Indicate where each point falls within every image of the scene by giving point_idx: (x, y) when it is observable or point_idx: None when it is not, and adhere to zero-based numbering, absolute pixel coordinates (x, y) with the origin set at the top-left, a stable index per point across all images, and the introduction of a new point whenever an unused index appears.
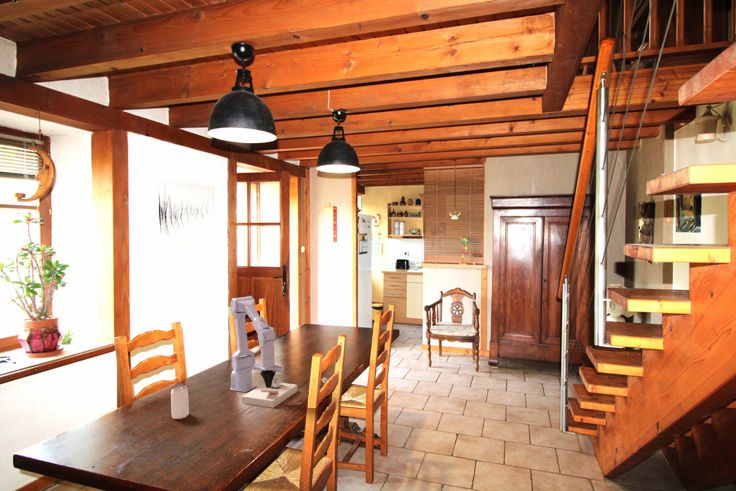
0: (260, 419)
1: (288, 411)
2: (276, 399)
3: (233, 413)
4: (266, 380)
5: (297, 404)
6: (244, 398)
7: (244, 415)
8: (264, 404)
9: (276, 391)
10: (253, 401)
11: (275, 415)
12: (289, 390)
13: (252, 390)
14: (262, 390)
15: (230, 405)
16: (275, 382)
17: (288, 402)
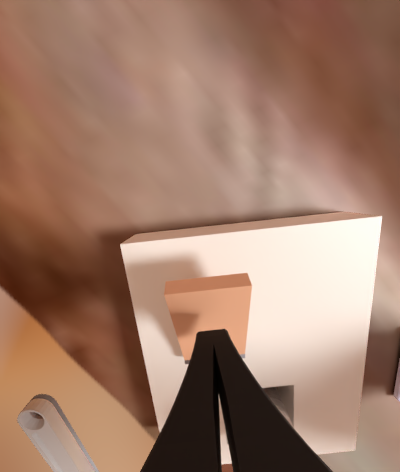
0: (80, 64)
1: (26, 231)
2: (131, 281)
3: (301, 63)
4: (229, 409)
5: (56, 318)
6: (349, 217)
7: (215, 69)
8: (191, 230)
9: (183, 353)
10: (272, 223)
11: (46, 156)
12: (155, 405)
13: (367, 322)
14: (235, 282)
15: (391, 157)
16: None
17: (115, 318)
